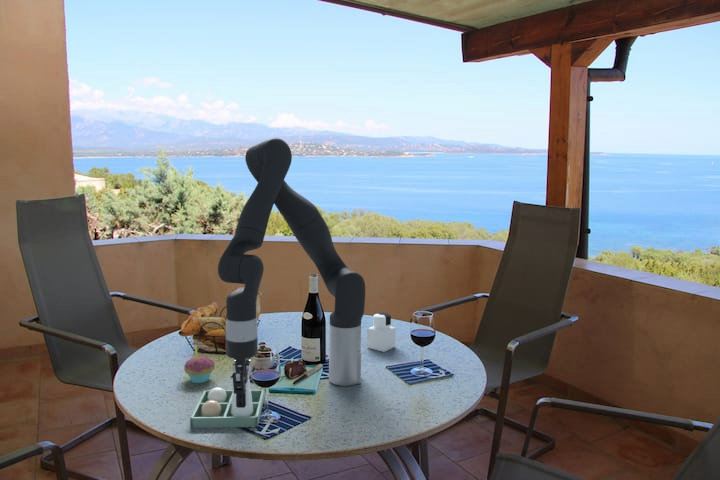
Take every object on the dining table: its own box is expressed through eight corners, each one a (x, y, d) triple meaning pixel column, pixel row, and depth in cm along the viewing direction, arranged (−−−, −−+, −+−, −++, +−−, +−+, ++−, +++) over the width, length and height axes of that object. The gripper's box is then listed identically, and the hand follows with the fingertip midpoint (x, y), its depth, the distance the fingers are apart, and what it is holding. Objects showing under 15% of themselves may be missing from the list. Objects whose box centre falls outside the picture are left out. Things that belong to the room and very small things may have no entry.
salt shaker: (241, 405, 139) (241, 364, 137) (258, 411, 136) (257, 369, 134) (226, 414, 134) (225, 371, 132) (243, 420, 131) (242, 376, 130)
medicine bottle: (378, 342, 195) (379, 310, 193) (395, 346, 191) (396, 313, 189) (367, 347, 189) (367, 314, 187) (384, 352, 185) (385, 318, 183)
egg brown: (223, 414, 137) (222, 396, 136) (219, 423, 132) (219, 405, 131) (203, 414, 137) (203, 396, 136) (199, 424, 132) (198, 405, 131)
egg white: (228, 401, 144) (227, 384, 144) (225, 409, 140) (224, 391, 139) (209, 401, 144) (209, 384, 143) (205, 409, 139) (205, 392, 139)
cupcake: (206, 388, 153) (205, 347, 152) (178, 385, 155) (177, 345, 153) (220, 377, 162) (219, 338, 160) (193, 374, 163) (192, 335, 162)
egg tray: (264, 400, 147) (264, 389, 146) (257, 429, 131) (257, 417, 131) (204, 400, 146) (204, 390, 145) (190, 430, 130) (190, 418, 130)
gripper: (253, 345, 125) (254, 416, 128) (260, 326, 139) (261, 390, 142) (220, 345, 125) (221, 416, 127) (230, 326, 139) (231, 390, 141)
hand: (242, 402), depth 134 cm, fingers closed on salt shaker, 4 cm apart
